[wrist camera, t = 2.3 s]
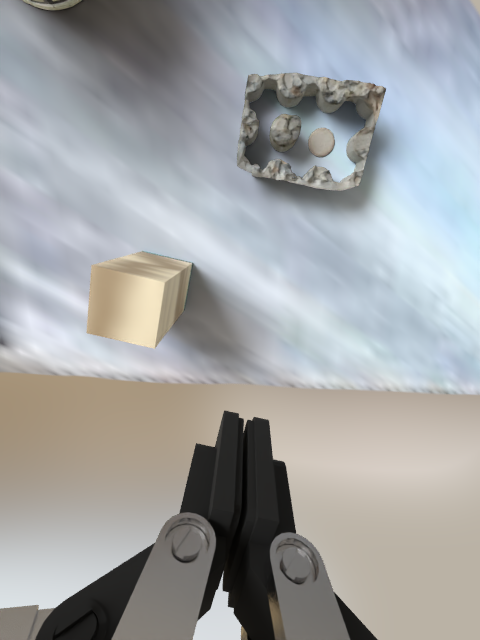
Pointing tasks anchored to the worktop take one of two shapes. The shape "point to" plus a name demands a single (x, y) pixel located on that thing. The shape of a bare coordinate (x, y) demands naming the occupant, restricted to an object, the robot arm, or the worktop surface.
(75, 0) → the coffee can
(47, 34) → the worktop surface
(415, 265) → the worktop surface
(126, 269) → the maple block
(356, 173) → the egg carton
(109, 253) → the worktop surface
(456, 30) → the worktop surface
